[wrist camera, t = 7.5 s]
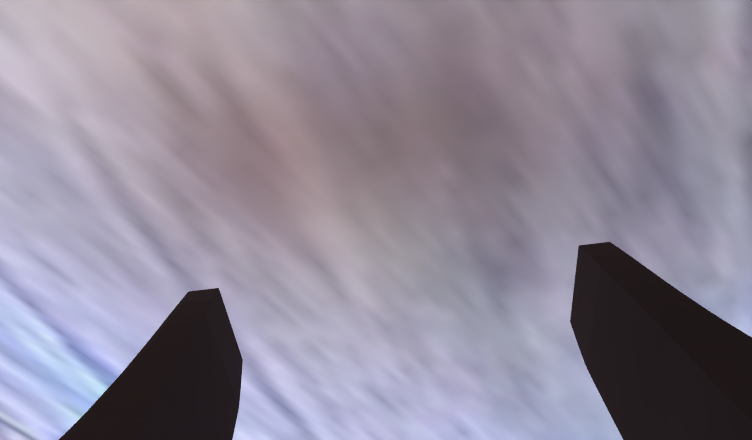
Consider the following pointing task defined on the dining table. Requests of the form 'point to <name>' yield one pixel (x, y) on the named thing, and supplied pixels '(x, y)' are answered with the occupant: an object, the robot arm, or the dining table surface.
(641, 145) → the dining table surface
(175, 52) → the dining table surface
